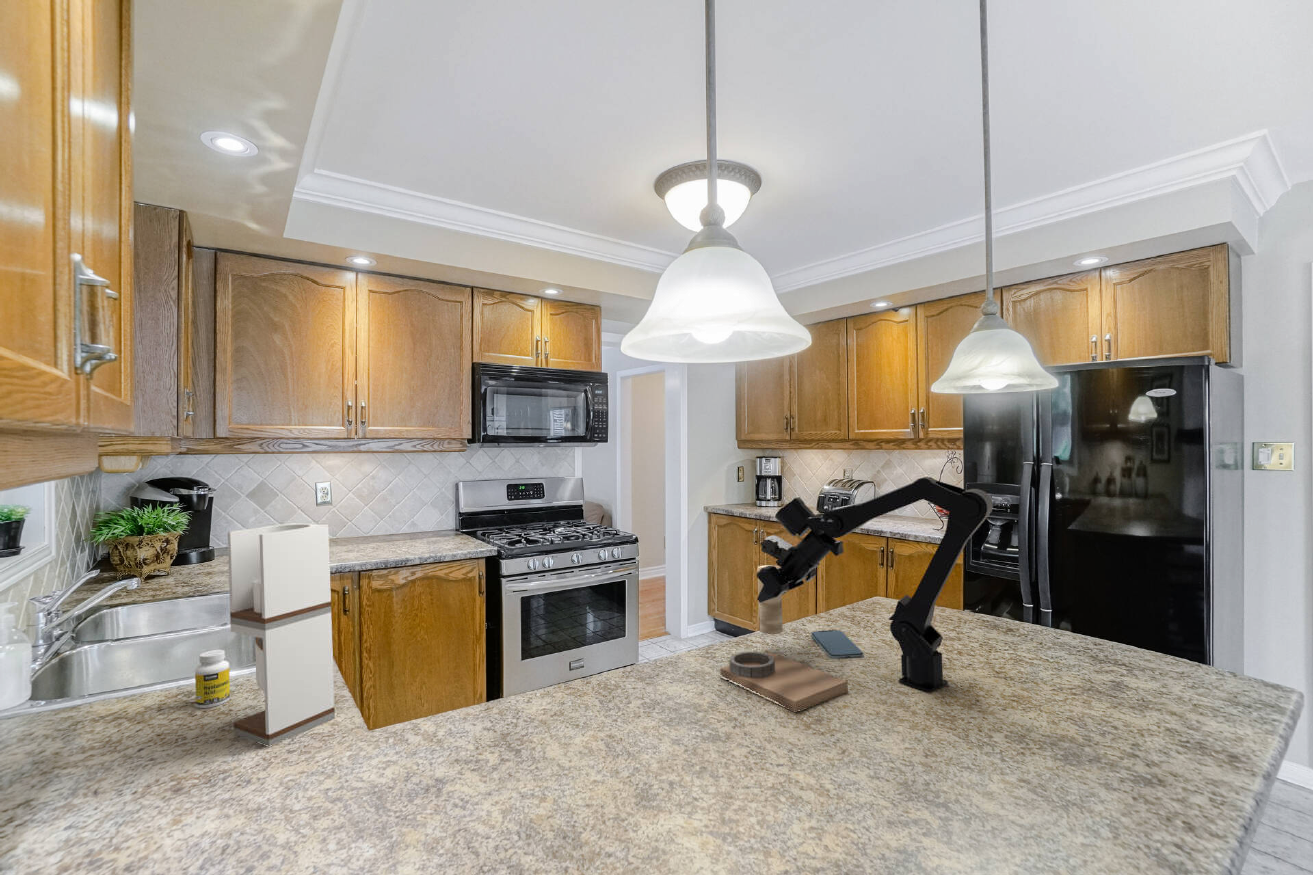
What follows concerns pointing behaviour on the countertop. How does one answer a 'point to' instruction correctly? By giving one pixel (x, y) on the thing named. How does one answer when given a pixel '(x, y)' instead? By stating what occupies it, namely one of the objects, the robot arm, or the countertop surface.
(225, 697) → the supplement bottle
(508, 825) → the countertop surface
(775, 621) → the stool leg
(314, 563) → the display case
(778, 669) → the stool seat
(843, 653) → the smartphone
